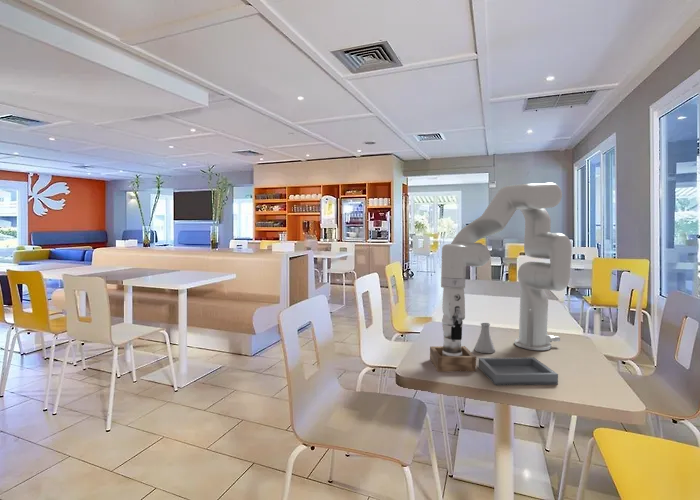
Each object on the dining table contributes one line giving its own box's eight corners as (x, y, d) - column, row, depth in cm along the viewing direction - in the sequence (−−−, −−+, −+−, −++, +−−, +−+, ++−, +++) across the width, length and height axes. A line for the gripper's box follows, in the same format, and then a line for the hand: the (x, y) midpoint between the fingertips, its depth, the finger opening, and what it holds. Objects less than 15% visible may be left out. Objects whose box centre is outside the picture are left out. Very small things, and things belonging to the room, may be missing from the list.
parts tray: (533, 366, 126) (534, 357, 126) (557, 384, 112) (558, 374, 112) (478, 367, 126) (478, 358, 126) (495, 385, 112) (495, 375, 112)
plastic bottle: (459, 370, 123) (460, 307, 122) (438, 366, 127) (439, 305, 125) (465, 364, 129) (466, 303, 127) (444, 360, 132) (445, 301, 131)
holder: (464, 359, 133) (464, 346, 133) (475, 371, 122) (476, 357, 122) (429, 359, 133) (430, 346, 133) (437, 371, 122) (438, 357, 122)
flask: (495, 348, 144) (495, 321, 144) (495, 355, 137) (496, 327, 137) (474, 346, 147) (475, 320, 146) (473, 352, 140) (474, 325, 139)
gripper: (473, 287, 117) (472, 343, 118) (456, 278, 134) (455, 328, 136) (448, 287, 117) (447, 343, 118) (434, 278, 134) (433, 328, 135)
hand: (451, 335), depth 127 cm, fingers open, 9 cm apart
